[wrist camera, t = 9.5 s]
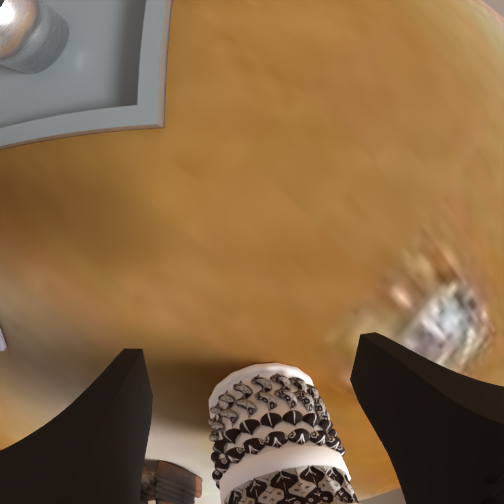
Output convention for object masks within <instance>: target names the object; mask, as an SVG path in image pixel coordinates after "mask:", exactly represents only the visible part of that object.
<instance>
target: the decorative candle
mask: <svg viewBox="0 0 504 504" xmlns="http://www.w3.org/2000/svg"><path fill="white" fill-rule="evenodd" d="M209 411H210V418H211V419H209V420H208V423H209V424H210V425H211V428H212V429H215V430H213V431H212V434H210V435H209V439H210V441H213V442H215V444H214V446H213V450H214V451H215V452H213V453H212V454H211V460H212V461H213V462H214V463H215V469H216V470H215V471H214V472H213V473H212V477H213V479H214V480H215V481H216V486H217V488H218V489H220V495H221V503H222V504H359V502H358V500H357V498H356V495H355V493H354V491H353V488H352V486H351V484H350V482H349V481H350V479H351V478H350V475H349V472H348V470H347V467H346V465H345V463H344V461H343V458H342V457H343V455H344V454H345V449H344V447H343V446H341V445H340V444H341V440H340V439H339V438H338V437H337V432H336V431H335V430H334V429H332V426H333V424H332V422H331V421H330V416H329V413H328V412H327V410H326V409H325V405H324V403H323V401H322V399H321V397H320V396H319V395H318V390H317V389H316V388H315V387H314V385H313V383H312V380H311V378H310V377H309V376H308V375H307V374H305V373H304V372H303V371H301V370H300V369H299V368H297V367H294V366H290V365H285V364H281V363H265V364H253V365H251V366H248V367H245V368H243V369H240V370H237V371H235V372H232V373H231V374H229V375H228V376H227V377H226V378H224V379H223V380H222V381H221V382H219V383H218V384H217V385H216V386H215V388H214V390H213V392H212V394H211V396H210V398H209ZM218 438H219V439H220V440H218ZM220 455H221V457H220ZM222 473H223V475H222Z"/></svg>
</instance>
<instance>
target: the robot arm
mask: <svg viewBox="0 0 504 504" xmlns="http://www.w3.org/2000/svg"><path fill="white" fill-rule="evenodd" d="M6 347H7V346H6V343H5V340H4V337H3V334H2V332H1V329H0V351H4V350H5V349H6ZM350 381H351V383H352V386H353V389H354V391H355V394H356V396H357V399H358V401H359V403H360V405H361V407H362V409H363V411H364V412H365V414H366V416H367V418H368V419H369V421H370V423H371V425H372V426H373V428H374V430H375V431H376V433H377V435H378V437H379V438H380V440H381V442H382V444H383V445H384V447H385V449H386V451H387V453H388V455H389V457H390V459H391V462H392V464H393V467H394V469H395V472H396V474H397V477H398V480H399V483H400V485H401V488H402V491H403V494H404V497H405V501H406V504H504V387H503V386H498V385H494V384H490V383H486V382H482V381H479V380H476V379H473V378H470V377H467V376H464V375H462V374H459V373H456V372H454V371H452V370H449V369H447V368H445V367H443V366H441V365H438V364H436V363H434V362H432V361H430V360H428V359H426V358H424V357H422V356H420V355H419V354H417V353H415V352H413V351H411V350H409V349H407V348H406V347H404V346H402V345H400V344H398V343H396V342H395V341H393V340H391V339H389V338H387V337H385V336H383V335H381V334H378V333H376V332H374V333H367V334H360V339H359V343H358V348H357V352H356V357H355V361H354V365H353V370H352V374H351V378H350ZM152 396H153V395H152V391H151V387H150V383H149V378H148V374H147V369H146V365H145V360H144V355H143V350H142V349H124V350H123V351H122V352H121V353H120V354H119V355H118V356H117V357H116V358H115V359H114V360H113V361H112V362H111V364H110V365H109V366H108V367H107V368H106V369H105V370H104V371H103V372H102V373H101V375H100V376H99V377H98V378H97V379H96V380H95V381H94V382H93V383H92V384H91V385H90V386H89V387H88V388H87V389H86V390H85V391H84V392H83V393H82V394H81V395H80V396H79V397H78V398H77V399H76V400H75V401H74V402H73V403H72V404H71V405H69V406H68V407H67V408H66V409H65V410H64V411H62V412H61V413H60V414H59V415H57V416H56V417H55V418H53V419H52V420H51V421H50V422H48V423H47V424H45V425H44V426H43V427H41V428H39V429H38V430H36V431H35V432H33V433H32V434H30V435H28V436H27V437H25V438H24V439H22V440H20V441H18V442H17V443H15V444H13V445H11V446H9V447H7V448H5V449H3V450H1V451H0V504H140V491H141V478H142V471H143V465H144V459H145V453H146V447H147V442H148V436H149V430H150V425H151V414H152Z"/></svg>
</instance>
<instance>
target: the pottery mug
mask: <svg viewBox="0 0 504 504" xmlns="http://www.w3.org/2000/svg"><path fill="white" fill-rule="evenodd" d="M201 494H202V479H201V478H200V477H198V476H196V475H194V474H192V473H190V472H189V471H187V470H184V469H182V468H180V467H178V466H175V465H172V464H170V463H167V462H164V461H159V463H158V467H157V469H156V470H155V473H154V475H152V473H151V472H150V470H149V469H148V468H147V467H146V466H144V465H143V471H142V478H141V491H140V504H148V501H150V500H155V501H156V504H194V503H195V501H194V498H195V497H197V498H199V497H201Z"/></svg>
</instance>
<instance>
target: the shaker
mask: <svg viewBox="0 0 504 504" xmlns="http://www.w3.org/2000/svg"><path fill="white" fill-rule="evenodd" d="M68 38H69V26H68V23H67V21H66V20H65V19H64V18H63V17H62V16H60V15H59V14H58V13H57V12H56V11H55V10H54V9H52V8H51V7H50V6H49V5H48V4H47V3H45V2H44V1H43V0H0V64H1V65H4V66H7V67H9V68H12V69H15V70H18V71H21V72H24V73H27V74H35V73H39V72H41V71H43V70H45V69H47V68H48V67H49V66H51V65H52V64H53V63H54V62H55V61H56V60H57V59H58V58H59V56H60V55H61V54H62V52H63V51H64V49H65V47H66V44H67V42H68Z"/></svg>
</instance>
